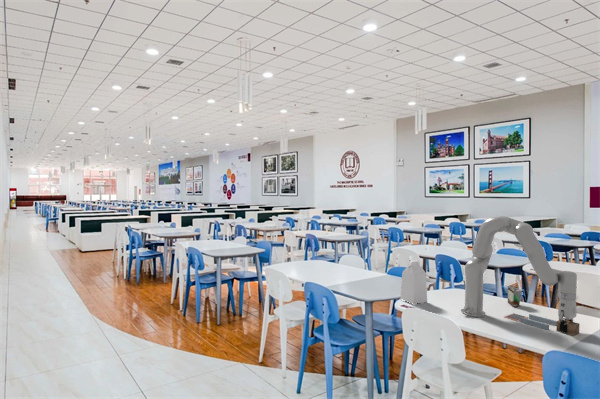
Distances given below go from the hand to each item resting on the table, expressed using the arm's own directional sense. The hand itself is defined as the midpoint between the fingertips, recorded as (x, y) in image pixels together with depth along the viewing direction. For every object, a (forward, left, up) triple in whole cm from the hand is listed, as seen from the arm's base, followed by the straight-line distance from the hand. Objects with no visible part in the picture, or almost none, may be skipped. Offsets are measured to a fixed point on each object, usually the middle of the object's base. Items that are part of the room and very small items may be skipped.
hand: (566, 330), depth 197 cm
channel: (0, +13, -1) cm, 13 cm away
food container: (+24, +37, -1) cm, 44 cm away
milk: (-24, +77, -1) cm, 81 cm away
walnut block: (0, -1, -1) cm, 1 cm away
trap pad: (0, +25, -1) cm, 25 cm away
